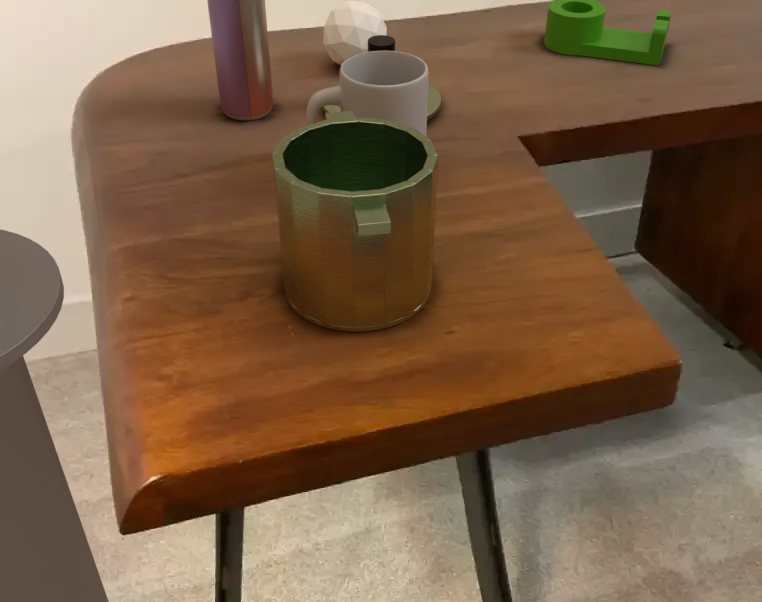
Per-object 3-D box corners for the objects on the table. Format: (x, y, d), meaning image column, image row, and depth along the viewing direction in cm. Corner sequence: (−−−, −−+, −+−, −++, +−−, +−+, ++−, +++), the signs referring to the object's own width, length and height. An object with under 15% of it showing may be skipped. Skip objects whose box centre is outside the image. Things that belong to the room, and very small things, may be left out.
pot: (296, 361, 72) (285, 223, 63) (275, 237, 85) (263, 109, 76) (452, 343, 74) (462, 206, 65) (408, 225, 87) (411, 97, 78)
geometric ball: (371, 90, 115) (399, 50, 108) (311, 73, 111) (335, 31, 104) (372, 39, 117) (398, -3, 110) (313, 21, 114) (336, -23, 107)
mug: (413, 149, 97) (415, 45, 90) (435, 188, 91) (440, 81, 84) (302, 162, 95) (295, 57, 88) (317, 203, 89) (311, 95, 82)
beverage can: (224, 124, 102) (206, -17, 91) (218, 101, 106) (201, -36, 96) (277, 119, 103) (266, -22, 92) (269, 96, 107) (258, -41, 97)
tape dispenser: (539, 51, 117) (543, 13, 113) (549, 30, 122) (554, -6, 118) (658, 66, 113) (666, 28, 110) (664, 45, 118) (672, 8, 115)
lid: (330, 140, 99) (327, 70, 94) (315, 87, 109) (311, 21, 103) (453, 130, 101) (457, 60, 95) (426, 78, 111) (429, 13, 105)
